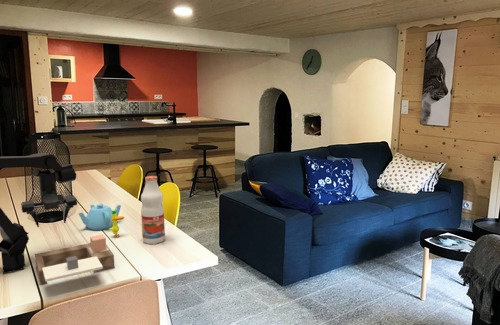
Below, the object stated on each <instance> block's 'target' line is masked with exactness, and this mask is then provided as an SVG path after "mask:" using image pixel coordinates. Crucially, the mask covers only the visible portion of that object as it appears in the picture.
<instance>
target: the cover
mask: <svg viewBox="0 0 500 325" xmlns="http://www.w3.org/2000/svg"><path fill="white" fill-rule="evenodd" d="M66 261H67V263H63V264H58V265H53V266H48V267H44V268H42V270H43V274H44V278H45V281H46V282H47V283H48V282H51V281H55V280H59V279H60V280H61V279H64V278H68V277H73V276H76V275H82V274H85V273H90V272H94V271H95V270H99V269H103V266H102V264H101V263H100V261H99V259H98V258H97V256H95V257H91V258H86V259H81V260H78V259H77V257H76V256H73V257H69V258H66Z"/></svg>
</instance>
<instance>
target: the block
mask: <svg viewBox="0 0 500 325" xmlns="http://www.w3.org/2000/svg"><path fill="white" fill-rule="evenodd" d="M89 239H90V240H89V241H90V243H91V249H92V251H93V252H98V251H102V250H106V245H107V241H106V240H107V239H106V237H105V236H104V234H99V235H92V236H90V238H89Z"/></svg>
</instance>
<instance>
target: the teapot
mask: <svg viewBox="0 0 500 325" xmlns="http://www.w3.org/2000/svg"><path fill="white" fill-rule="evenodd" d="M121 206H122V205H121V204H117V205H116V207H115V209H114V210H116V212H117V217H119V214H120V211H121ZM112 211H113V209H112V208H111V207H110V206H108V205H104V204H103V203H98V204H96V205H95V204H91V205H90V209H89V210H88V213H87V215H85V214H84V213H83V212H82V211H81V212H78V215H79V217H80V220H81V221H82V223H83V224H84V225H85V226H86V228H88V229H89V230H92V231H102V230H103V231H104V229H105V230H108V228H112V227H113V221H112V220H111V219H112Z"/></svg>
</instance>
